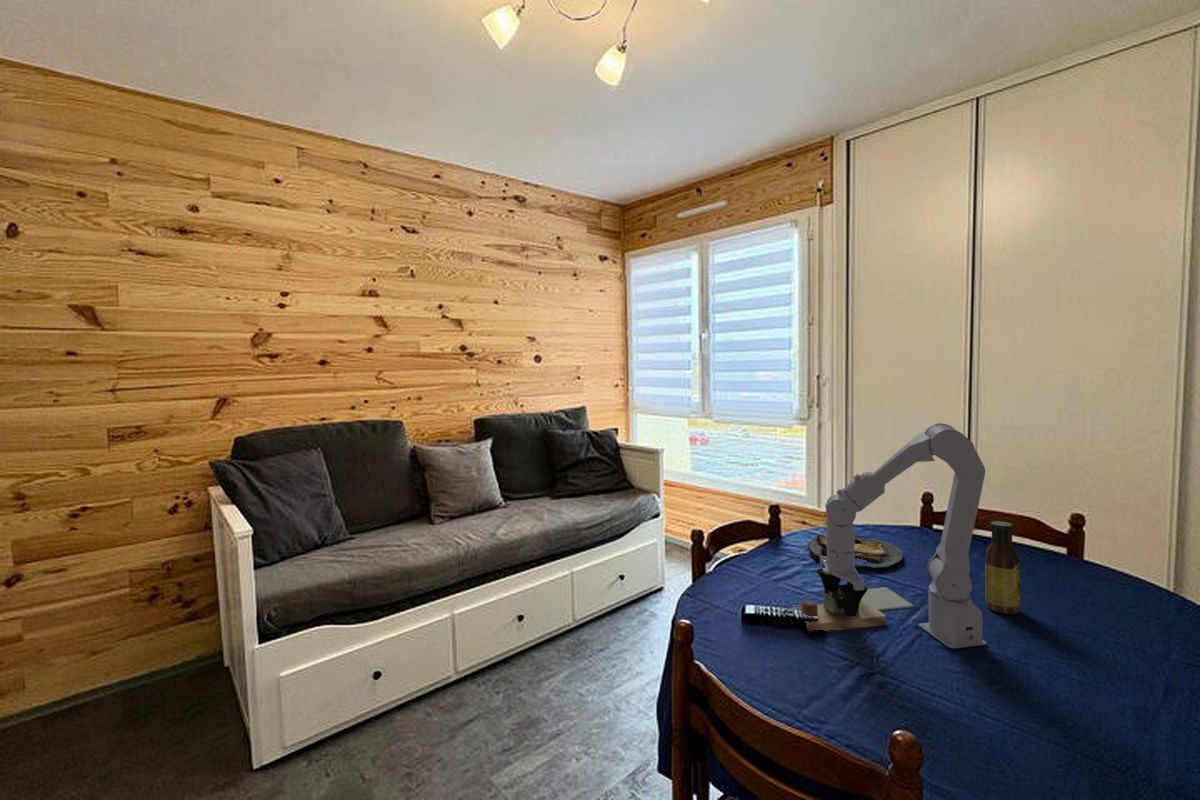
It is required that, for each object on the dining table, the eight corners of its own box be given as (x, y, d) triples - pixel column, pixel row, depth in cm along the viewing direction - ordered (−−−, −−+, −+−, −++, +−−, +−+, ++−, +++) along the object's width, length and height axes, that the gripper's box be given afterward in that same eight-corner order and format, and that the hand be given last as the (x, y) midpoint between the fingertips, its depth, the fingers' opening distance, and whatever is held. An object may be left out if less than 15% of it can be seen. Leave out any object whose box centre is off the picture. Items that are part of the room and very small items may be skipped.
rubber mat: (913, 606, 125) (913, 605, 125) (873, 611, 124) (873, 609, 124) (885, 588, 135) (885, 587, 135) (848, 592, 134) (848, 591, 134)
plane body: (864, 607, 126) (863, 589, 125) (886, 624, 118) (885, 605, 117) (791, 615, 124) (790, 597, 123) (808, 633, 116) (807, 613, 115)
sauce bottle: (1025, 616, 118) (1027, 528, 116) (994, 615, 119) (995, 528, 118) (1009, 602, 125) (1010, 519, 123) (979, 601, 126) (980, 519, 124)
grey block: (848, 605, 123) (848, 586, 123) (859, 614, 119) (858, 594, 119) (824, 608, 122) (823, 589, 122) (833, 616, 118) (833, 596, 118)
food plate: (803, 563, 153) (803, 551, 152) (812, 537, 173) (812, 527, 173) (903, 578, 141) (904, 565, 141) (900, 549, 162) (901, 538, 161)
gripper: (807, 539, 126) (808, 595, 127) (841, 563, 112) (842, 625, 113) (835, 537, 127) (836, 592, 128) (873, 560, 113) (874, 622, 114)
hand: (841, 607), depth 121 cm, fingers open, 7 cm apart
